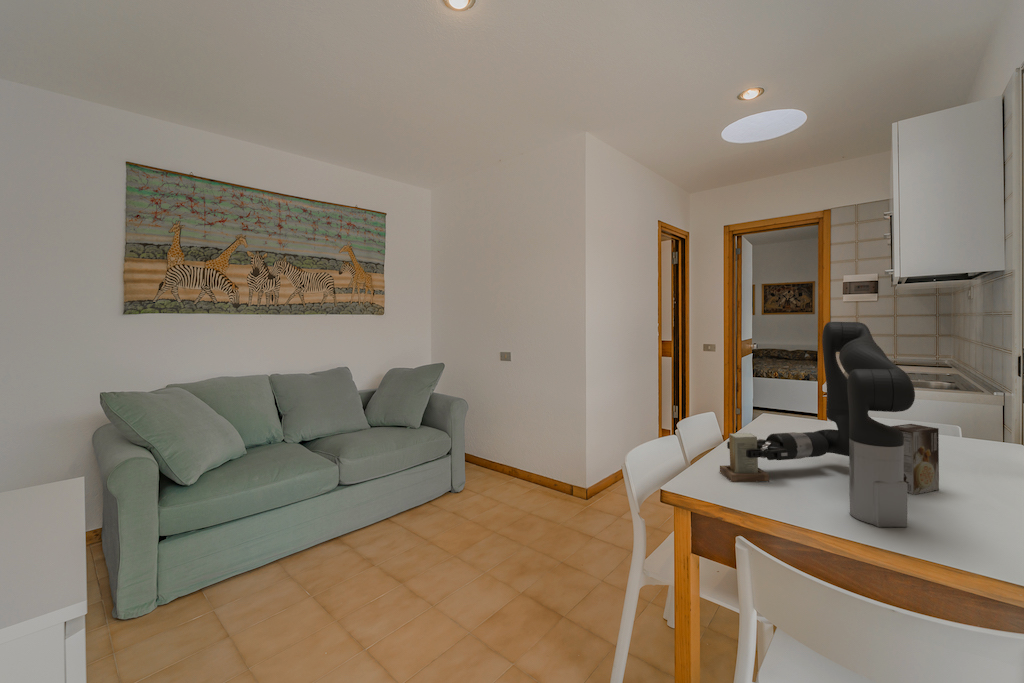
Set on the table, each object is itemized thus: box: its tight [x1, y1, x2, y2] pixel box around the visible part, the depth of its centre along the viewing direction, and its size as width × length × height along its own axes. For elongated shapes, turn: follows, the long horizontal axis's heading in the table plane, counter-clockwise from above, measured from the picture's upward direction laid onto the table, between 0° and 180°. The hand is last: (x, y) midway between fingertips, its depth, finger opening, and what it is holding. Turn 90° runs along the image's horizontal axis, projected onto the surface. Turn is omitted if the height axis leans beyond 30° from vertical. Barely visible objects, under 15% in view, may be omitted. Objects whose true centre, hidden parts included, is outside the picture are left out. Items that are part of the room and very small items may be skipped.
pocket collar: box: [719, 464, 770, 483], centre depth 124 cm, size 8×10×2 cm
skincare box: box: [728, 432, 759, 473], centre depth 124 cm, size 6×4×12 cm
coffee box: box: [891, 423, 940, 495], centre depth 112 cm, size 9×6×16 cm
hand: (737, 449), depth 124 cm, fingers open, 8 cm apart
